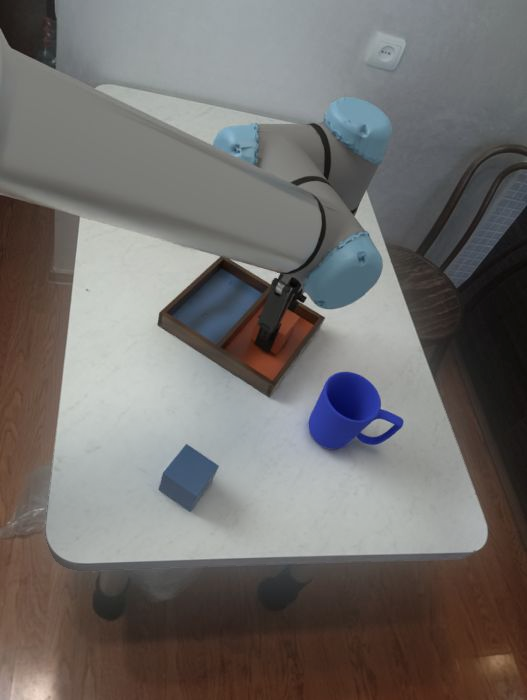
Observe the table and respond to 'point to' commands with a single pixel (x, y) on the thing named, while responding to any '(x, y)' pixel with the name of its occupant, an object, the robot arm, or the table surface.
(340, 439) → the mug
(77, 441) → the table surface
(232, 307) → the tray
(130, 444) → the table surface
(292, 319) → the terracotta block
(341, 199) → the robot arm
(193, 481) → the blue block
